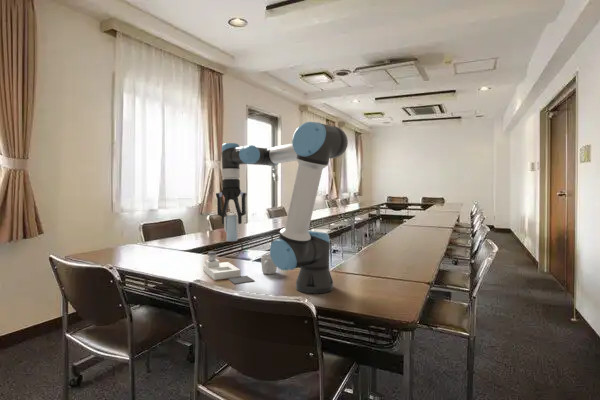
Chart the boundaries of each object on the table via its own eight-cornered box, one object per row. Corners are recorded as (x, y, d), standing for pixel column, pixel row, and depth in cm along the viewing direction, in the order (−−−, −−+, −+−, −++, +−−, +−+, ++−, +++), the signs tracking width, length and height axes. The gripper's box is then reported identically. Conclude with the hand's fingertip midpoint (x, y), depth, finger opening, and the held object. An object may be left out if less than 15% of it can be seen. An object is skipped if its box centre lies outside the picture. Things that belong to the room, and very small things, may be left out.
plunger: (217, 264, 163) (217, 252, 163) (209, 265, 162) (209, 253, 161) (214, 263, 166) (214, 251, 166) (207, 264, 165) (207, 252, 164)
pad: (254, 281, 149) (254, 280, 149) (234, 284, 145) (234, 283, 145) (246, 276, 157) (246, 275, 157) (227, 279, 153) (227, 278, 152)
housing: (240, 276, 157) (240, 264, 157) (214, 279, 151) (214, 267, 151) (227, 267, 173) (227, 256, 172) (203, 270, 167) (203, 259, 166)
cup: (273, 277, 156) (273, 259, 155) (256, 276, 157) (256, 258, 157) (279, 271, 166) (279, 255, 166) (263, 270, 168) (263, 254, 168)
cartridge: (236, 241, 151) (235, 214, 151) (225, 241, 152) (224, 214, 151) (238, 239, 156) (238, 213, 156) (228, 239, 157) (227, 213, 156)
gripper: (252, 178, 156) (253, 230, 157) (214, 179, 158) (215, 230, 158) (248, 178, 149) (249, 232, 149) (208, 178, 150) (209, 232, 151)
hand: (232, 231), depth 154 cm, fingers closed on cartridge, 5 cm apart
